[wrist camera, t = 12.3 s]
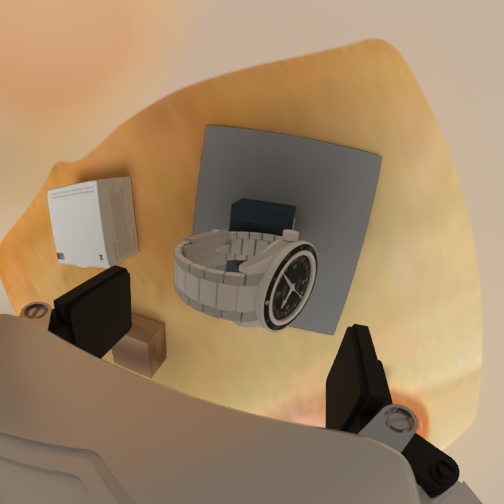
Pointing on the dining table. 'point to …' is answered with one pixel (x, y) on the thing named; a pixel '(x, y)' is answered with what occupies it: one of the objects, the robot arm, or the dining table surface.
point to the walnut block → (142, 346)
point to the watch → (248, 267)
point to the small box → (94, 222)
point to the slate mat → (294, 202)
